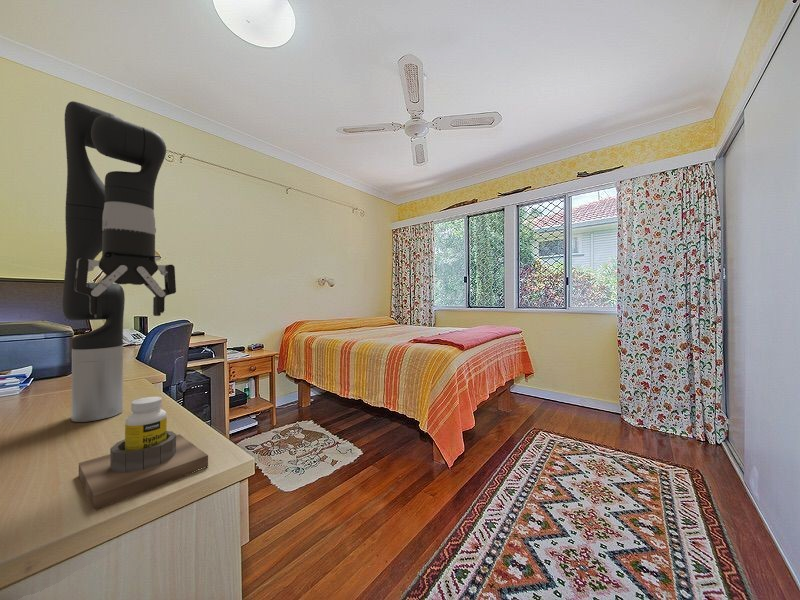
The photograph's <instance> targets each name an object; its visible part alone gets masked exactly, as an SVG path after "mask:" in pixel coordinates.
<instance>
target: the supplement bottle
mask: <svg viewBox="0 0 800 600" xmlns="http://www.w3.org/2000/svg"><path fill="white" fill-rule="evenodd" d="M162 401H163V398H162V396H147V397H143V398H137V399H135V400H132V401H131V403H130V405H131V406H130V407H131V408H130V411H131V412H132V413H131V414H129V415H128V416H126V418H125V422H124V423H125V424H124V425H125V427H124V428H125V429H124V433H125V434H124V439H125V450H126V451H132V450H138V449H144V448H148V447H151V446H155V445H158V444H160V443H162V442H164V441H166V431H167V427H168V425H167V422H168V421H167V420H168V417H167V411H166V410H164V409H161V407H163V406H162V405H163V402H162Z"/></svg>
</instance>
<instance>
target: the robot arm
mask: <svg viewBox="0 0 800 600" xmlns="http://www.w3.org/2000/svg"><path fill="white" fill-rule="evenodd" d="M64 134H65V136H64V137H65V151H66V152H65V153H66V168H67V170H66V171H67V172H66V173H67V177H66V191H65V192H66V195H65V215H64V216H65V218H64V219H65V241H66V253H65V254H66V255H65V267H64V268H65V270H64V277H63V278H64V280H63V290H62V291H63V292H62V311H63V315H64V317H65V318H66V319H67V320H69V321H96V320H97V321H98V320H101V321H102V320H105V322H104V323H103V324H102V326H99V327H98V328H96V329H93V330H91V331H89V332H85V333H82V334H79V335H76V336H74V337H73V338H72V339H71V405H70V406H71V412H70V413H71V414H70V415H71V418H70V420H71V421H72V422H75V423H85V422H93V421H98V420H103V419H108V418H111V417H115V416H117V415H119V414H121V413H122V412H123V410H124V406H123V404H124V399H123V398H124V355H123V353H124V351H123V350H124V346H123V345H124V314H125V313H124V311H125V303H126V302H125V300H126V299H125V291H124V289H123V286H122V285H127V284H129V285H133V286H137V285H139V286H140V285H144V286H145V287H146V288H147V289H148V290H149V291H150V292H151V293H152V294H153V295H154V296H153V297H152V298H153V299H152V301H153V302H152V304H153V305H152V309H153V312H152V315H153V316H155V317H160V316H161V314H163V313H165V312H164V311H165V299H166V297H167V296H170V295H172V294H176V292H177V286H176V285H177V283H176V269H175V265H173V264H157V262H156V233H157V228H156V217H155V211H154V210H155V187H156V182H157V179H158V175H159V172H160V169H161V168H162V165H163V163H164V160H165V158H166V154H167V146H166V142H165V141H164V139H163V138H162V136H161V135H160V134H159V133H158V132H156V131H154V130H152V129H149V128H146V127H143V126H140V125H137V124H135V123H131V122H129V121H126V120H124V119H122V118H121V117H119V116H117V115H115V114H114V113H110V112H107V111H105V110H101V109H99V108H95V107H93V106H90V105H87V104H84V103H81V102H78V101H74V100H73V101H69V102H68V103H67V105H66V106H65V111H64ZM86 147H87V148H90V149H95V150H96V151H97V152H98V153H99V154H101V155H103V156H105V157H108V158H111V159H115V160H119V161H122V162H126V163H130V164H133V165H137V166H140V170H139V171H123V170H117V171H116V170H115V171H109V172H108V173H106V175H105V177H104V182H103V181H102V179H101V178H100V177H99V175H98V174H97V172H96V171H95V169H94V167H93V165H92V163H91V160H90V159H89V156H88V153H87V149H86ZM99 254H101V258H100V259H99V260H96V258H97V257H98V255H99ZM96 267H98V268H99V269H100V270H101V271H102V272H103V273H104V274H105V276H103V278H101V279H100V280H99V281H98V282H88V274H89V272H92V271H94V269H95V268H96ZM157 271H159V273H160V275H162V276H164V289H163V288H161V286H160V284H159V283H158V282H157V281H156V279H154V278H153V275H155V274H156V273H157Z"/></svg>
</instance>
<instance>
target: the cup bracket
mask: <svg viewBox="0 0 800 600" xmlns="http://www.w3.org/2000/svg"><path fill="white" fill-rule="evenodd" d="M109 449H110V453H109V454H106V455H102V456H100V457H95V458H92V459H88V460H85V461H82V462H79V463H78V478H79V479H80V483H82V486H83V488H84V491H85V493H86V495H87V497H88V500H89V502H90V505H91V507H92V509H93V511H96V510H99V509H102V508H105V507H107V506H109V505H113V504H115V503H118V502H120V501H122V500H126V499H127V498H130V497H133V496H135V495H138V494H141V493H144V492H146V491H149V490H152V489H154V488H157V487H159V486H162V485H165V484H168V483H170V482H173V481H175V480H177V479H178V480H179V479H180V478H183V477H185V475H186V476H188V475H190V473H191V474H193V473H192V472H194V471H196V470H198V469H201V468H203V467H206V466H208V467H209V454H207V453H206V452H205V451H204V450H202V449H200V448H199V447H197V445H195V444H194V443H192V442H191V441H189V440H188V439H187V438H186V437H184V436H183V435H181V434H177V433H175V432H174V431H172V430H171V431H170V430H168V431H166V441H164V442H162V443H160V444H158V445H155V446H151V447H148V448H144V449H138V450H132V451H126V450H125V438H124V439H122V440H120V441H118V442H116V443H114V445H112V446H111V447H110V448H109ZM201 470H202V469H201ZM196 472H197V471H196ZM194 473H195V472H194ZM187 474H188V475H187Z"/></svg>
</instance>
